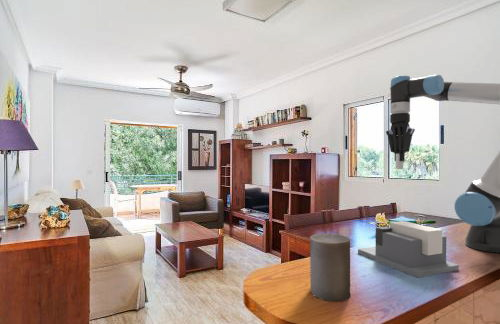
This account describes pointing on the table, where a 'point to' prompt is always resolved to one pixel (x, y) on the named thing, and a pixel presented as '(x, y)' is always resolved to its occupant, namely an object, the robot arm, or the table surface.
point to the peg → (421, 235)
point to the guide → (407, 254)
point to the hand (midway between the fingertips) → (399, 168)
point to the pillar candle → (330, 266)
